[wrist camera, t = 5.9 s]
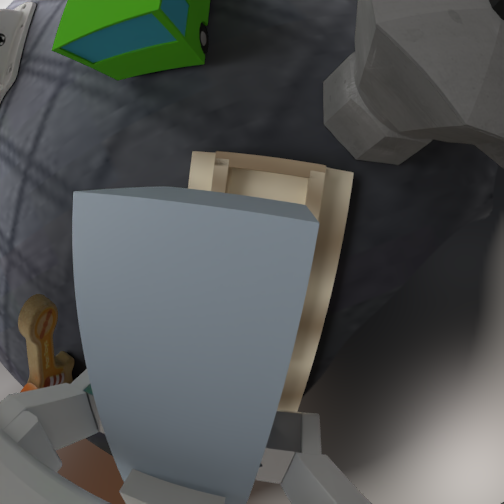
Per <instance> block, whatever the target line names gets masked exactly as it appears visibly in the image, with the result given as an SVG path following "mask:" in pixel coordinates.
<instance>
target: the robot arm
mask: <svg viewBox="0 0 504 504" xmlns="http://www.w3.org/2000/svg"><path fill="white" fill-rule="evenodd" d="M35 8H36V3H33V2H26V3H24V4H22V5H20V6H18V7H17V8H15V9H14V10H11V9H0V103H1V101H2V99H3V97H4V95H5V94H6V92H7V91H8V90H9V88H10V87H11V86H12V84H13V83H14V81H15V79H16V77H17V74H18V69H19V64H20V59H21V55H22V51H23V47H24V43H25V39H26V36H27V32H28V29H29V25H30V22H31V19H32V16H33V13H34V10H35ZM98 431H100V432H102V433H104V434H105V432H104V429H103V426H102V423H101V420H100V417H99V413H98V410H97V407H96V403H95V400H94V396H93V392H92V388H91V384H90V380H89V376H88V371H87V369H86V370H85V371H84V372H83V373H81V374H80V375H79V376H78V377H77V378H76V379H75V380H74V381H73V382H72V383H71V384H68V383H63V384H59V385H54V386H50V387H45V388H40V389H35V390H30V391H25V392H20V393H15V394H9V395H8V396H7V397H6V398H4V399H3V400H2V401H1V402H0V504H111V503H109V502H107V501H105V500H102V499H101V498H99V497H97V496H95V495H93V494H91V493H90V492H88V491H86V490H84V489H82V488H81V487H79V486H77V485H76V484H74V483H72V482H71V481H69V480H67V479H66V478H64V477H63V476H61V475H59V474H58V473H57V471H58V470H59V469H60V468H61V466H62V461H61V460H60V458H59V456H58V455H57V453H56V450H58V449H60V448H63V447H65V446H68V445H70V444H73V443H75V442H77V441H80V440H82V439H84V438H87V437H89V436H91V435H93V434H95V433H98ZM255 480H259V481H265V482H273V483H279V484H281V487H282V488H283V490H284V492H285V494H286V495H287V497H288V499H289V500H290V502H291V504H372V503H371V502H370V501H369V500H368V499H367V498H366V497H365V496H364V495H363V494H362V493H361V492H360V491H359V490H358V489H357V488H356V487H355V486H354V485H353V484H352V483H351V482H350V480H349V479H348V478H347V477H346V476H345V475H344V474H343V473H342V472H341V471H340V469H339V468H338V467H337V466H336V465H335V464H334V463H333V462H332V461H331V459H330V458H329V457H328V456H327V455H322V454H321V435H320V418H319V415H318V414H315V413H304V412H295V411H287V410H279V409H277V412H276V415H275V418H274V422H273V425H272V428H271V432H270V435H269V438H268V441H267V445H266V448H265V451H264V454H263V457H262V460H261V463H260V466H259V469H258V472H257V475H256V478H255ZM501 504H504V502H503V503H501Z"/></svg>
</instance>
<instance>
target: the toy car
mask: <svg viewBox="0 0 504 504" xmlns="http://www.w3.org/2000/svg"><path fill="white" fill-rule="evenodd" d="M209 8H210V0H68V1H67V4H66V7H65V9H64V12H63V15H62V18H61V21H60V24H59V27H58V30H57V33H56V37H55V40H54V44H53V48H52V51H54V52H57V53H59V54H61V55H64V56H66V57H69V58H71V59H73V60H75V61H78V62H80V63H82V64H84V65H86V66H89V67H91V68H93V69H95V70H97V71H99V72H101V73H104V74H106V75H108V76H110V77H112V78H114V79H116V80H122V79H126V78H130V77H134V76H138V75H143V74H147V73H152V72H157V71H162V70H168V69H174V68H180V67H187V66H194V65H202V64H205V54H206V53H207V50H208V35H207V30H206V27H205V26H208V17H209Z"/></svg>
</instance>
